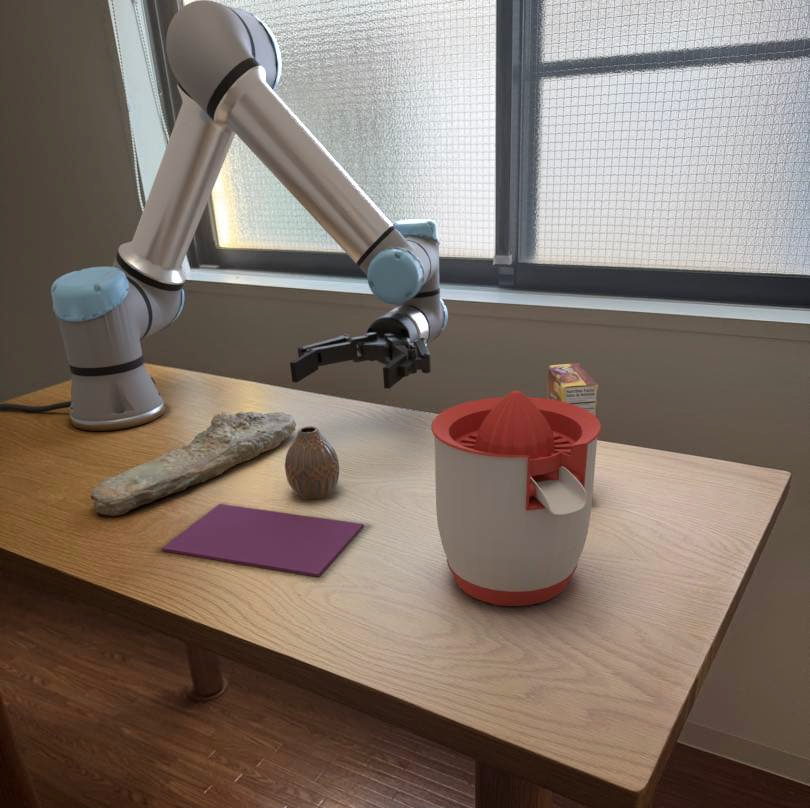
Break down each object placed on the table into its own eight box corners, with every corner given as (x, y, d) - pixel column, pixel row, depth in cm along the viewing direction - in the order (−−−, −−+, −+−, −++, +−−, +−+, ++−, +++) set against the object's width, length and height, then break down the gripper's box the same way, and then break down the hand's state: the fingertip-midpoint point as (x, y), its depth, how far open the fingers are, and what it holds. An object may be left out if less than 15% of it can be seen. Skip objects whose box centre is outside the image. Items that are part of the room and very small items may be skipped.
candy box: (542, 478, 101) (547, 363, 93) (574, 476, 101) (582, 362, 93) (556, 508, 93) (563, 385, 86) (591, 506, 93) (601, 383, 86)
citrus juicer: (489, 648, 69) (492, 439, 59) (411, 562, 83) (403, 382, 73) (631, 604, 74) (655, 405, 64) (535, 530, 88) (542, 358, 78)
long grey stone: (77, 516, 100) (126, 538, 95) (66, 480, 97) (116, 501, 92) (265, 421, 123) (312, 435, 118) (261, 390, 120) (309, 403, 115)
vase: (319, 477, 104) (312, 416, 100) (352, 491, 100) (347, 427, 95) (277, 494, 100) (269, 430, 96) (310, 509, 95) (303, 443, 91)
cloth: (162, 551, 88) (161, 548, 87) (220, 506, 97) (219, 503, 97) (318, 577, 81) (318, 574, 81) (363, 526, 91) (363, 523, 91)
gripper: (474, 364, 116) (428, 409, 99) (327, 356, 125) (261, 396, 107) (474, 314, 113) (426, 351, 96) (322, 309, 121) (253, 343, 104)
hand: (338, 375), depth 101 cm, fingers open, 13 cm apart
